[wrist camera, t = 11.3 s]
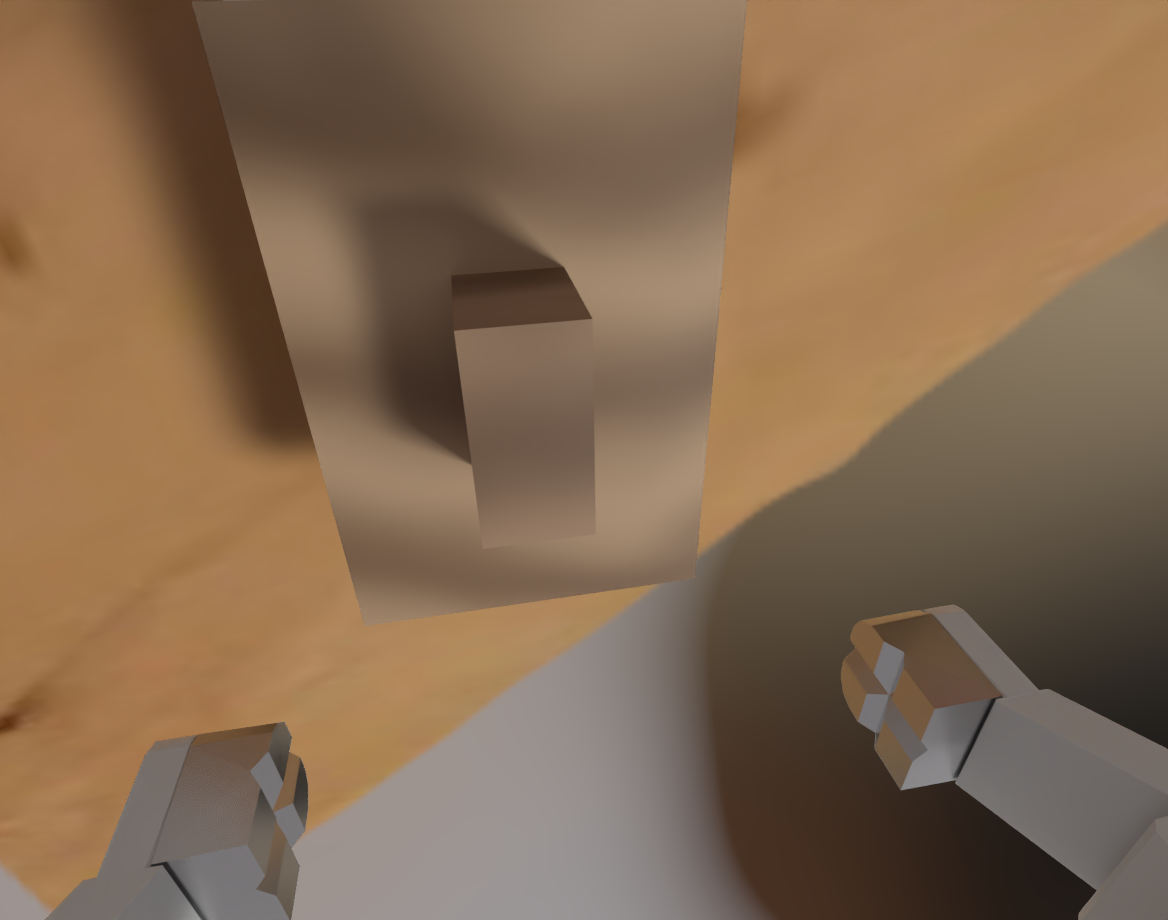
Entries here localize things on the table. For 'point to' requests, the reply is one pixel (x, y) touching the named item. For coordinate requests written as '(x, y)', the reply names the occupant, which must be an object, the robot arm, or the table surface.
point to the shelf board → (478, 194)
